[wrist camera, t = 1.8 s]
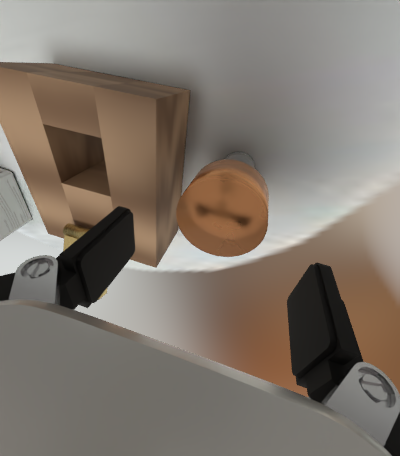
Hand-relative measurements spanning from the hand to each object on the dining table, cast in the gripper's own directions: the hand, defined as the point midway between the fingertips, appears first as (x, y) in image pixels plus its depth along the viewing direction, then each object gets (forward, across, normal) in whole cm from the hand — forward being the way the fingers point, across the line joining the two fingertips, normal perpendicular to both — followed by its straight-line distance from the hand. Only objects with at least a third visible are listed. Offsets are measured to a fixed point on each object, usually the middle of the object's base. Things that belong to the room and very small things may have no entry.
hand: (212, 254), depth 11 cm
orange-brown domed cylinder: (+10, 0, -1) cm, 10 cm away
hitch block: (+10, +11, +1) cm, 15 cm away
